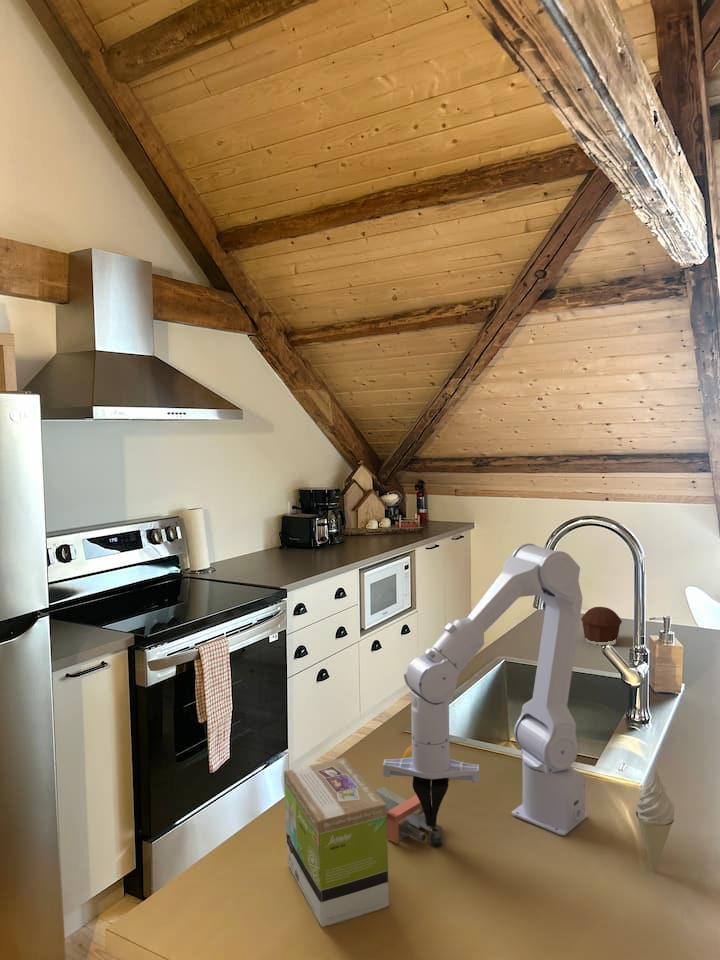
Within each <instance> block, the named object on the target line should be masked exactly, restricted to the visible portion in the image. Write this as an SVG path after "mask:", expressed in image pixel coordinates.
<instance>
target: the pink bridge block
mask: <svg viewBox="0 0 720 960" xmlns="http://www.w3.org/2000/svg"><path fill="white" fill-rule="evenodd" d="M420 808H422V805H421V803H420V801H419V799H418V797H417V795H416V794H415V795H413V796H412V797H410V798H408V799H406V801H405V802H403V803H401V804H400V805H398V806H396V807H394V808H393V809H391V810H389V811H388V810H387V811H388V812H387V841H388V840H389V841H390V842H392V843H394V844H398V843H399V842H400V840H399V821H401V820H402V819H404V818H406V817H407V816H409V815H411V814H412V813H414V812H415V811H417V810H419V809H420ZM422 809H423V808H422Z"/></svg>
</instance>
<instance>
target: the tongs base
mask: <svg viewBox="0 0 720 960" xmlns="http://www.w3.org/2000/svg"><path fill="white" fill-rule="evenodd" d="M387 812H388V810H387ZM409 824H410V823H409V821H408V820H406V819H402V820H401V821H399V841H403V840H404V839H406V838H408V837H411V838H413V839H416V840H418V841H420V842H424V841H425V840H426V832H424V831H422V830H419V828H417V827H415V826H414V827H413V825H411V824H410V825H409ZM428 833H429V846H430V847H432V848H437V849H438V848H441V847H442V846H443V844H444V842H443V841H444V839H443V837H444V835H443V834H444V833H443V827H442V826H441V825H438V824H436V826H435V827H434V826H430V828H429V831H428Z"/></svg>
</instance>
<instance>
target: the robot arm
mask: <svg viewBox="0 0 720 960" xmlns="http://www.w3.org/2000/svg"><path fill="white" fill-rule="evenodd" d="M580 572H581V567H580V565H579V564H578V563H577V562H576V560H575V559H573V557H572V556H571V555H570V554H568V552H564V551H561V550H554V549H549V548H546V547H541V546H537V544H534V543H528V542H527V543H524V544H521V545H519V546H517V547H516V548H515V550H513V553H512V554H511V555H510V556H509V557H508V558H507V559H505V560H504V564H503V567H502V570H501V572H500V574H499V575H498V577H496V579H495V581H494V582H493V583H492V584H491V585H490V587H489V589H487V591H486V592H485V593H484V595H483V596H482V598H481V599H480V600H479V601H478V603H477V604H476V605H475V607H474V608H473V609H472V610H471V612H470V613H469V615H468V616H467V617H464V618H456V619H455V620H453V622H452V623H451V622H448V623H447V624H446V625H445V626H444V630H445V631H444V632H443V633H442V634H441V635H440V637H439V638H438V639H437V640H436V641H435V642H434V643H433V645H431V647H428V648H426V650H425V651H424V654H422V655H420V656H417V657H415V658H414V659H413V660H412V661H411V662H410V663H409V665H408V666H407V671H406V673H404V674H403V680H404V683H405V684H406V686H407V687H408V688H409V690H410V694H411V695H410V696H411V697H410V703H411V705H410V706H411V707H410V709H411V710H410V711H411V714H410V715H411V719H410V720H411V722H410V723H411V745H412V757H411V758H403V757H402V758H391V759H390V758H385V759H383V762H382V773H383V774H382V777H384V778H390V777H391V776H397V777H398V776H399V777H411V778H412V788H413V792H414V794H415V795H417V797H418V799H419V801H420V803H421V805H422V808H423V811H424V814H425V818H426V824H427V826H434V827H435V826H436V825H437V819H438V813H439V810H440V807H441V804H442V801H443V799H444V797H445V795H446V793H447V791H448V789H449V780H459V781H460V780H461V781H462V780H463V781H471V782H472V783H478V784H479V783H480V764H476V763H467V762H463V761H458V760H455V759H450V758H451V756H450V755H451V753H450V697H452V696H453V695H454V693H455V692H456V689H457V684H458V683H457V682H458V678H460V677H461V675H460V674H461V672H462V671H463V670H464V669H465V668H466V667H467V666H468V664H469V663H470V662H471V661H472V660H473V658H475V656H476V655H477V654H478V653H479V651H480V650H481V649H482V648H483V647H484V645H485V632H487V631H488V629H490V628H491V626H492V625H494V624H495V622H497V621H498V620H499V618H500V617H501V616H502V615H504V613H505V612H506V611H507V610H508V609H509V608H510V607H511V606H513V604H514V603H515V602H516V601H517V600H518V599H519V598H523V597H530V596H531V597H532V596H539V598H540V599H541V600H542V602H543V603H544V604H545V609H544V617H543V624H542V631H541V637H540V638H541V639H540V642H539V643H540V645H539V651H538V659H537V665H536V666H537V667H536V671H535V677H534V687H533V690H532V691H533V692H532V698H531V699H530V700H528V701H526V702H525V703H524V704H523V705H522V708H521V713H520V716H519V718H518V720H517V721H516V722H515V725H514V728H513V737H514V740H515V743H516V744H517V745H518V746H519V747H520V754H521V755H522V776H521V777H522V803H521V804H520V805H518V806H517V807H516V808H515V809H513V810H512V811H511V815H512V816H514V817H516V818H519V819H521V820H523V821H525V822H526V821H527V822H528V823H531V824H533V825H536V826H538V827H541V828H542V829H545V830H548V831H550V832H552V833H555V834H557V835H560V836H563V837H564V836H566V835H567V834H569V832H570V831H572V830H573V829H574V828H576V826H578V825H579V824H580V823H581V822H582V821H584V820H585V819H586V818H588V813H586V781H585V777H584V774H583V773H582V772H580V771H578V770H576V769H575V768H573V767H572V764H573V763H574V762H575V760H576V759H577V755H578V751H579V745H578V741H577V740H578V739H577V737H576V736H577V735H576V734H577V733H576V732H577V724H576V721H575V720H574V718H573V716H572V713H571V712H570V710H569V708H568V702H569V695H570V688H571V682H572V674H573V669H574V668H573V666H574V659H575V655H576V646H577V640H578V633H579V626H580V620H581V613H582V606H583V594H582V590H581V586H580V582H579V581H580V580H579V578H580Z"/></svg>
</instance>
